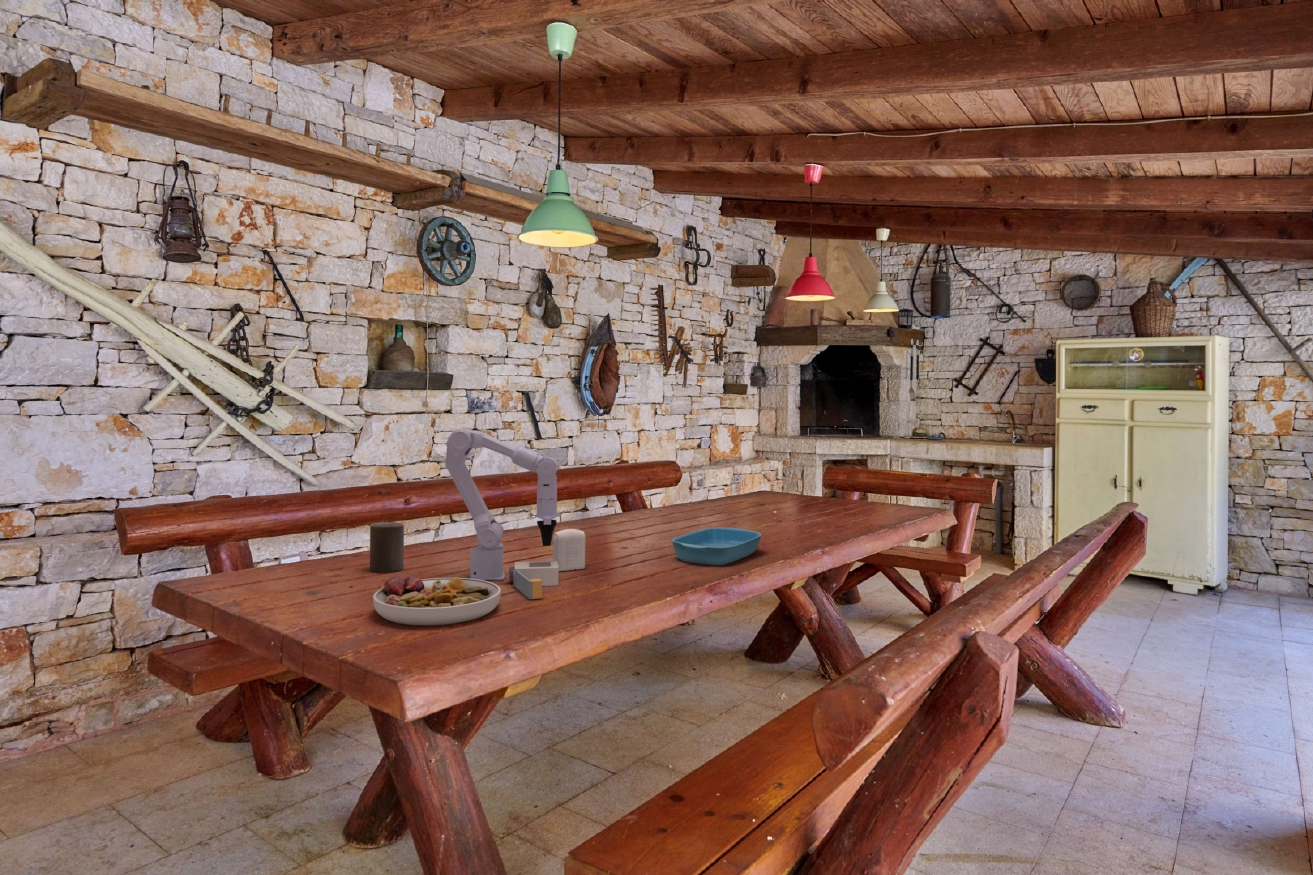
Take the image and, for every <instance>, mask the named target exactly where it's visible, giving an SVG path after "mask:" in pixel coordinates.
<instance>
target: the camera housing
mask: <svg viewBox="0 0 1313 875" xmlns="http://www.w3.org/2000/svg"><path fill="white" fill-rule="evenodd" d="M513 570H518V571H520V572H521V573H522V574H524V575H525V576H526V577H527V578H529V579H540V580H542V587H549V586H550V587H556V586H557V587H559V571H558V563H557V561H553V560H544V561H543V560H542V561H540V560H539V561H514V566H510V567H508V574H509V575H508V581H509V582H513Z"/></svg>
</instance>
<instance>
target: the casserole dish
mask: <svg viewBox="0 0 1313 875" xmlns="http://www.w3.org/2000/svg"><path fill="white" fill-rule="evenodd" d="M761 537H762V533H761V532H758V531H755V530H750V529H745V528H737V527H706V528H702V529H699V530H696V531H692V532H690V533H686V534H682V535H679V536H676V537H673V538H672V540H671V542H672V545H673V549H674V551H675V554H676V556H677V558H678V559H679V560H681V561H682V562H686V563H693V564H700V565H705V566H706V565H707V566H725V565H729V564H732V563H734V562H736V561H739V560H741V558H742V559H743V558H746V557H748V556H751V555H752V554H753V553H754V552H756V550H757V549H758V547H759V544H760V541H761Z"/></svg>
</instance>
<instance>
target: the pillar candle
mask: <svg viewBox="0 0 1313 875" xmlns="http://www.w3.org/2000/svg"><path fill="white" fill-rule="evenodd" d="M369 530H370V531H369V570H371V571H370V572H371V573H381V574H382V573H383V574H385V573H386V574H387V573H388V574H390V573H395V572H396V571H397V572H399V571H400V570H401V571H403V570H404V567H405V566H404V563H405V562H404V560H405V559H404V557H405V554H404V551H405V550H404V549H405V547H404V544H405V543H404V542H405V538H404V537H405V524H404V523H403V522H394V521H393V522H392V521H391V522H390V521H389V522H388V520H387V519H386V521H385V522H375V523H371V524H370V528H369ZM402 569H403V570H402ZM389 572H390V573H389Z"/></svg>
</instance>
